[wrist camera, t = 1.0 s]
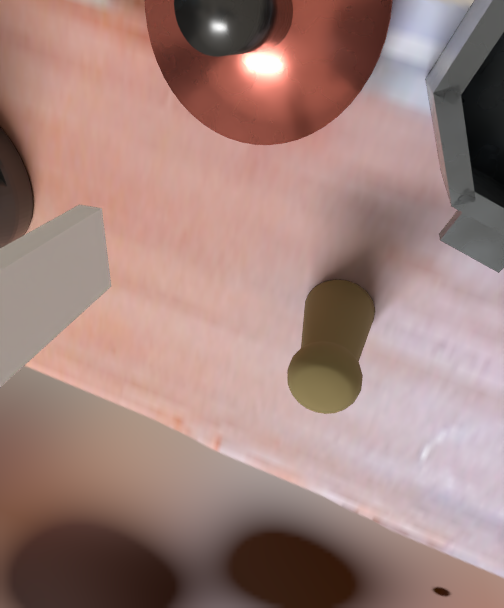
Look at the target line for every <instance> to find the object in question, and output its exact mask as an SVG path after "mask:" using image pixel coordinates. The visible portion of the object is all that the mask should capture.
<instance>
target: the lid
mask: <svg viewBox="0 0 504 608" xmlns="http://www.w3.org/2000/svg"><path fill="white" fill-rule="evenodd" d="M392 1H393V0H145V12H146V20H147V28H148V32H149V37H150V41H151V45H152V48H153V51H154V54H155V57H156V60H157V63H158V65H159V67H160V69H161V72H162V74H163V76H164V78H165V80H166V81H167V83H168V85H169V86H170V88H171V90H172V91H173V93H174V94H175V95H176V97H177V98H178V99H179V101H180V102H181V103H182V105H183V106H184V107H185V108H186V109H187V110H188V111H189V112H190V113H191V114H192V115H193V116H194V117H195V118H197V119H198V120H199V121H200V122H201V123H203V124H204V125H206V126H207V127H209V128H210V129H212V130H213V131H215V132H217V133H219V134H221V135H223V136H225V137H227V138H230V139H233V140H236V141H239V142H244V143H249V144H255V145H273V144H282V143H287V142H290V141H294V140H298V139H300V138H303V137H305V136H308V135H310V134H312V133H314V132H316V131H317V130H319V129H321V128H323V127H324V126H326V125H327V124H328V123H330V122H331V121H332V120H334V119H335V118H336V117H338V116H339V115H340V114H341V113H342V112H343V111H344V110H345V109H346V108H347V107H348V106H349V105H350V104H351V102H352V101H353V100H354V99H355V97H356V96H357V95H358V94H359V92H360V91H361V90H362V88H363V87H364V85H365V83H366V82H367V80H368V79H369V77H370V75H371V74H372V72H373V70H374V68H375V65H376V63H377V61H378V59H379V57H380V54H381V51H382V49H383V46H384V43H385V40H386V36H387V32H388V28H389V23H390V19H391V10H392Z"/></svg>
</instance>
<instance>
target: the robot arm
mask: <svg viewBox="0 0 504 608" xmlns="http://www.w3.org/2000/svg"><path fill="white" fill-rule="evenodd" d="M32 211H33V198H32V190H31V185H30V181H29V178H28V174H27V172H26V169H25V166H24V164H23V162H22V160H21V158H20V156H19V154H18V152H17V150H16V148H15V147H14V145H13V144H12V142H11V141H10V139H9V138H8V136H7V135H6V134H5V132H4V131H3V130H2V129H1V127H0V387H1V386H2V385H3V384H4V383H5V382H7V381H8V380H9V379H10V378H11V377H12V376H13V375H14V374H15V373H17V372H18V371H19V370H20V369H21V368H22V367H23V366H24V365H25V364H26V363H28V362H29V361H30V360H31V359H32V358H33V357H34V356H35V355H36V354H37V353H39V352H40V351H41V350H42V349H43V348H44V347H45V346H46V345H47V344H48V343H50V342H51V341H52V340H53V339H54V338H55V337H56V336H57V335H58V334H59V333H60V332H62V331H63V330H64V329H65V328H66V327H67V326H68V325H69V324H70V323H71V322H73V321H74V320H75V319H76V318H77V317H78V316H79V315H80V314H81V313H82V312H84V311H85V310H86V309H87V308H88V307H89V306H90V305H91V304H92V303H93V302H95V301H96V300H97V299H98V298H99V297H100V296H101V295H102V294H103V293H104V292H106V291H107V290H108V289H109V288H110V287H111V279H110V271H109V263H108V255H107V247H106V239H105V231H104V223H103V215H102V208H97V207H91V206H85V205H78V206H76V207H74V208H72V209H71V210H69V211H67V212H65V213H63V214H62V215H60V216H58V217H56V218H54V219H53V220H51V221H49V222H47V223H45V224H44V225H42V226H40V227H38V228H36V229H35V230H33V231H31V232H29V233H27V234H26V235H24V234H25V233H26V231H27V229H28V227H29V225H30V222H31V218H32Z"/></svg>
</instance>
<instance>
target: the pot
mask: <svg viewBox="0 0 504 608" xmlns="http://www.w3.org/2000/svg"><path fill="white" fill-rule="evenodd" d="M425 80H426V86H427V92H428V98H429V104H430V110H431V116H432V122H433V127H434V133H435V139H436V145H437V151H438V157H439V163H440V169H441V173H442V177H443V180H444V183H445V187H446V190H447V193H448V197H449V200H450V203H451V206H452V207H454V208H455V209H457V210H458V211H457V212H456V213H455V214H454V216H453V217H452V218H451V219H450V221H449V222H448V223H447V225H446V226H445V227H444V228H443V230H442V231H441V232H440V233H439V236H440V240H441V241H443V242H444V243H446V244H448V245H450V246H452V247H453V248H455V249H457V250H459V251H461V252H462V253H464V254H466V255H468V256H470V257H471V258H473V259H475V260H477V261H479V262H480V263H482V264H484V265H486V266H488V267H489V268H491V269H493V270H495V271H497V272H498V273H499V272H500V271H501V270H502V269H503V268H504V0H474V2H473V4H472V5H471V7H470V8H469V10H468V12H467V13H466V15H465V17H464V18H463V20H462V21H461V23H460V25H459V26H458V28H457V29H456V31H455V33H454V34H453V36H452V38H451V39H450V41H449V42H448V44H447V46H446V47H445V49H444V50H443V52H442V54H441V55H440V57H439V59H438V60H437V62H436V63H435V65H434V67H433V68H432V70H431V71H430V73H429V75H428V76H427V78H426V79H425Z"/></svg>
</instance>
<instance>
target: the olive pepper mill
mask: <svg viewBox="0 0 504 608" xmlns="http://www.w3.org/2000/svg"><path fill="white" fill-rule="evenodd" d="M374 313H375V308H374V304H373V300H372V299H371V297H370V296H369V294H368V293H367V291H365V290H364V289H363V288H361V287H360V286H359V285H357V284H355V283H352V282H350V281H347V280H336V279H335V280H330V281H325V282H323V283H321V284H319V285H317V286H315V287H314V289H313V290H312V291H311V292H310V293H309V294H308V297H307V299H306V301H305V311H304V322H303V332H302V343H301V349H300V350H299V351H298V352H297V353H296V354H295V355H294V356H293V358H292V360H291V362H290V365H289V367H288V386H289V388H290V391H291V393H292V395H293V396H294V397H295V399H296V400H297V401H298V402H299V403H300V404H301V405H303V406H304V407H305V408H307V409H309V410H312V411H314V412H318V413H324V414H328V413H336V412H339V411H342V410H344V409H346V408H347V407H349V406H350V405H351V404H353V403H354V402H355V400H356V398H357V396H358V395H359V393H360V391H361V386H362V376H363V375H362V372H361V369H360V365H359V362H358V361H359V359H360V356H361V353H362V350H363V347H364V345H365V342H366V339H367V336H368V333H369V331H370V328H371V325H372V322H373V320H374Z"/></svg>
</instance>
